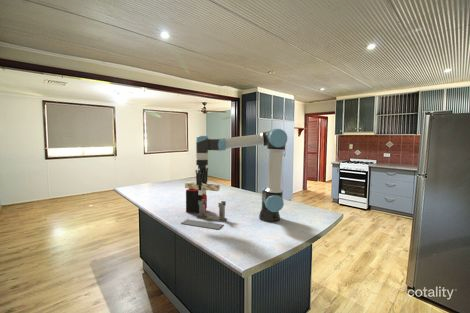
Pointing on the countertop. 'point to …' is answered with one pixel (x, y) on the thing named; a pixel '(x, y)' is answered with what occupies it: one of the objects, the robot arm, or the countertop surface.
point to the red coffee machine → (194, 200)
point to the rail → (205, 186)
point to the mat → (202, 224)
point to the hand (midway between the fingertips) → (202, 194)
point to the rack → (220, 218)
